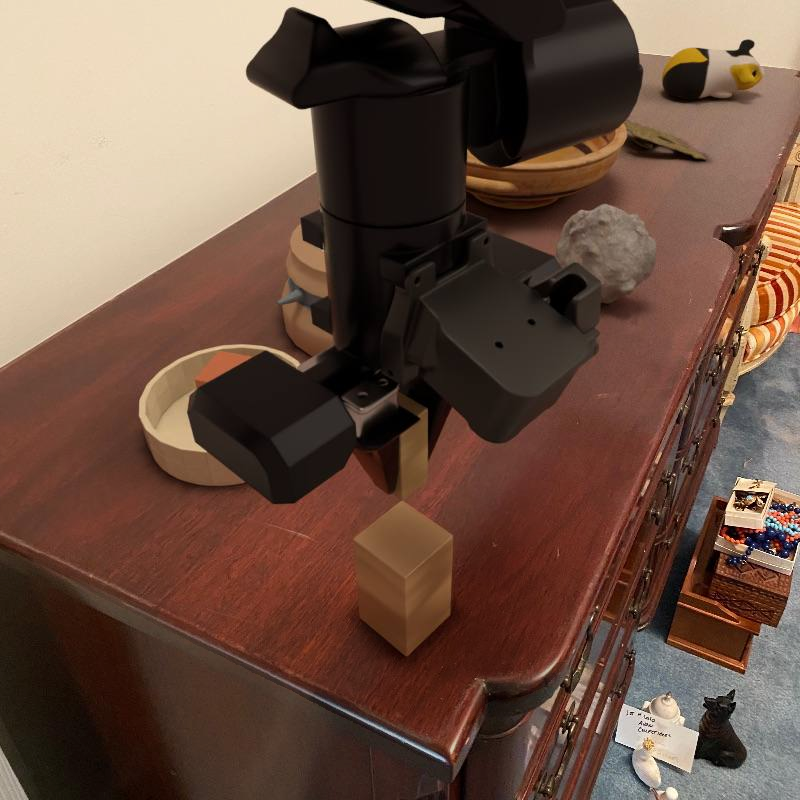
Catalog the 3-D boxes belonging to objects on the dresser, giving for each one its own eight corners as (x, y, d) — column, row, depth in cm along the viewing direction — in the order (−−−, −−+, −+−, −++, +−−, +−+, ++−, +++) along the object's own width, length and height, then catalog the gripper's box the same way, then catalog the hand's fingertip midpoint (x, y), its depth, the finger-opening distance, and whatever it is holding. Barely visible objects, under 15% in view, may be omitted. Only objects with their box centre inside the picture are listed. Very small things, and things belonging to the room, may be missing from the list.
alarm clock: (232, 252, 64) (358, 154, 80) (248, 342, 70) (363, 234, 86) (417, 295, 58) (514, 179, 74) (418, 389, 64) (507, 263, 80)
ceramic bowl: (475, 133, 109) (477, 75, 103) (645, 163, 99) (657, 100, 94) (371, 218, 89) (367, 151, 84) (571, 264, 80) (581, 192, 74)
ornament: (699, 160, 96) (594, 116, 101) (690, 178, 97) (587, 133, 102) (719, 149, 103) (620, 108, 109) (711, 165, 105) (614, 125, 110)
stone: (647, 288, 76) (668, 193, 69) (642, 324, 71) (664, 226, 64) (554, 274, 78) (565, 181, 72) (542, 309, 73) (554, 212, 67)
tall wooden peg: (402, 502, 39) (400, 428, 35) (374, 482, 40) (369, 410, 36) (428, 481, 40) (428, 408, 36) (400, 462, 41) (398, 390, 38)
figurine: (764, 106, 115) (780, 50, 110) (662, 104, 116) (673, 48, 111) (751, 89, 121) (766, 35, 116) (655, 87, 123) (665, 33, 118)
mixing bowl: (214, 514, 54) (205, 479, 51) (117, 430, 61) (105, 396, 58) (348, 423, 61) (345, 390, 59) (247, 358, 68) (241, 325, 66)
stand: (406, 657, 45) (404, 578, 40) (359, 618, 47) (352, 538, 42) (450, 615, 47) (454, 535, 42) (403, 579, 49) (401, 499, 44)
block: (248, 427, 60) (240, 388, 58) (203, 418, 61) (193, 379, 59) (269, 396, 63) (263, 358, 61) (226, 388, 64) (218, 350, 62)
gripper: (365, 396, 20) (385, 701, 30) (700, 175, 30) (632, 458, 40) (138, 258, 26) (218, 550, 36) (482, 112, 36) (469, 371, 46)
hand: (400, 477), depth 39 cm, fingers closed on tall wooden peg, 2 cm apart
